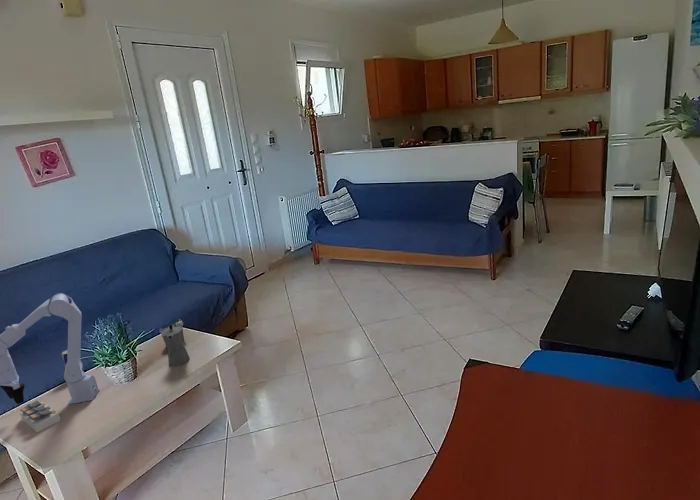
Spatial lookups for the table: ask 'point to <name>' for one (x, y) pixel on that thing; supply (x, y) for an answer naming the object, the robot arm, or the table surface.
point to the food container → (178, 324)
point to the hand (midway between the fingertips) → (16, 400)
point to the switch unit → (42, 419)
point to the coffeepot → (175, 345)
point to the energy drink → (65, 356)
